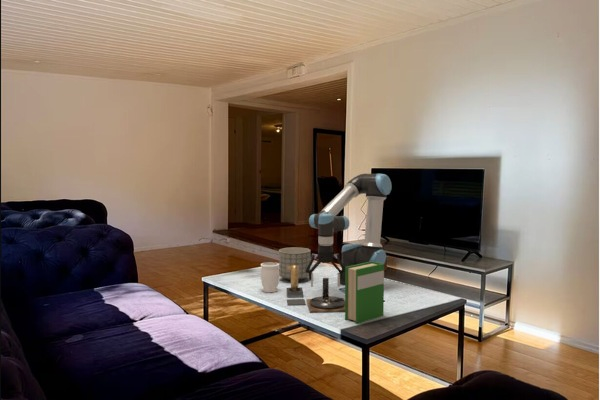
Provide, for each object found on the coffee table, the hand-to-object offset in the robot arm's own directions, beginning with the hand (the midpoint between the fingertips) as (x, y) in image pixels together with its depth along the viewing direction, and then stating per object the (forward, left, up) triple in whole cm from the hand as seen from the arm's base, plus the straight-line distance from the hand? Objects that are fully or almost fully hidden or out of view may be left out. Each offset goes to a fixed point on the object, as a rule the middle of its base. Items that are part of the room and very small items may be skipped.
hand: (325, 286), depth 225 cm
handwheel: (0, +7, -7) cm, 10 cm away
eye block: (+15, -13, -8) cm, 21 cm away
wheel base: (0, +7, -8) cm, 11 cm away
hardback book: (-15, +24, -8) cm, 30 cm away
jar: (+28, -23, -8) cm, 37 cm away
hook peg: (+16, -13, -8) cm, 22 cm away
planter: (+13, -46, -8) cm, 49 cm away
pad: (+15, 0, -8) cm, 17 cm away
